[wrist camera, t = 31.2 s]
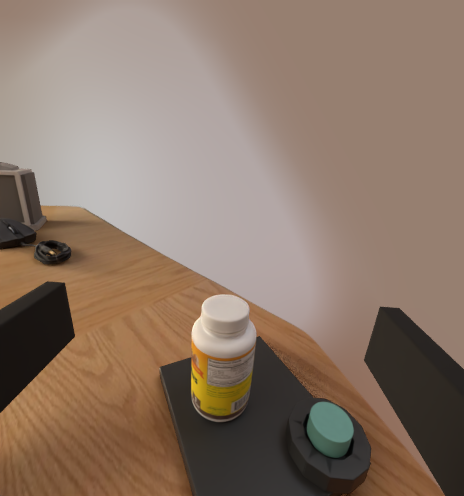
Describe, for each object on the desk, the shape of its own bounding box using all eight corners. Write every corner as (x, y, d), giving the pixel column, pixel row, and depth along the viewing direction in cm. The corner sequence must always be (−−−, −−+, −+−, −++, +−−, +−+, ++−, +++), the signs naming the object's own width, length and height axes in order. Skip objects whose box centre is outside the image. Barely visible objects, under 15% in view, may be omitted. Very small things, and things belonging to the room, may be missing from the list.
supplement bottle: (196, 371, 26) (198, 286, 23) (248, 375, 26) (258, 291, 23) (184, 423, 21) (184, 323, 18) (248, 429, 21) (261, 330, 18)
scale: (377, 478, 19) (388, 453, 18) (223, 607, 13) (226, 580, 12) (261, 343, 33) (264, 324, 32) (159, 376, 27) (158, 355, 26)
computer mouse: (11, 232, 69) (7, 213, 67) (89, 256, 57) (86, 233, 55) (-34, 240, 61) (-41, 219, 59) (44, 271, 49) (39, 245, 47)
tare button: (357, 446, 19) (363, 430, 19) (328, 466, 18) (333, 450, 17) (325, 410, 22) (329, 395, 21) (298, 425, 20) (301, 410, 20)
